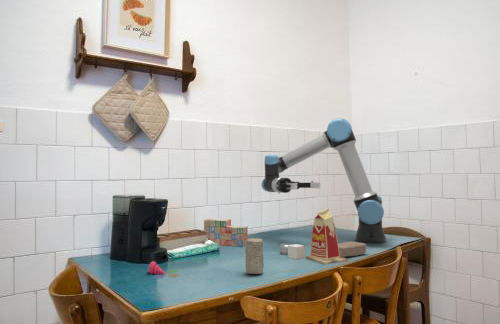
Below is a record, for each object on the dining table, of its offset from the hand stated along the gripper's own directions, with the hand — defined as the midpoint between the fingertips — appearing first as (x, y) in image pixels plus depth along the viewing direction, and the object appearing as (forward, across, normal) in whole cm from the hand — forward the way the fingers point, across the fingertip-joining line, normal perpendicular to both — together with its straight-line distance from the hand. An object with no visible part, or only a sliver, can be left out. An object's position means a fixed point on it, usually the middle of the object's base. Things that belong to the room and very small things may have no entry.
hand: (307, 185), depth 171 cm
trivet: (+17, +4, -30) cm, 34 cm away
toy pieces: (+7, +68, -29) cm, 75 cm away
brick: (+15, -8, -29) cm, 34 cm away
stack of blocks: (-33, +26, -29) cm, 51 cm away
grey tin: (0, +13, -29) cm, 32 cm away
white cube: (+8, +13, -30) cm, 33 cm away
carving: (+22, +40, -29) cm, 54 cm away
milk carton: (+17, +5, -29) cm, 34 cm away
